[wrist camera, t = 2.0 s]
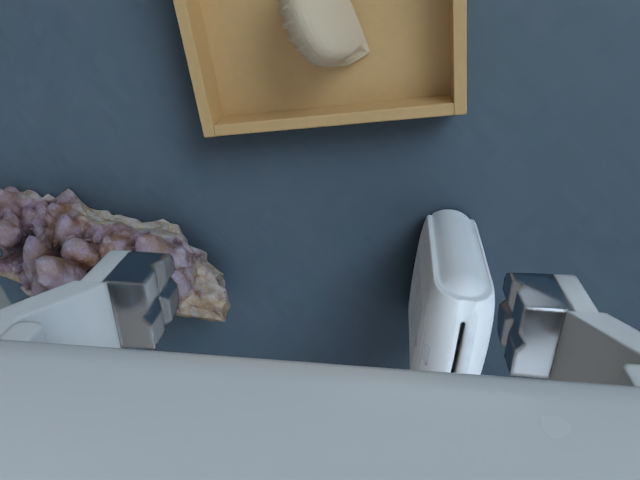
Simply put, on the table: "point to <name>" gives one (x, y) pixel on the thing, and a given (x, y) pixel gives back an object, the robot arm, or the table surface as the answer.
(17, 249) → the mineral specimen
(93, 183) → the table surface
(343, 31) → the decorative ornament
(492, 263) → the table surface
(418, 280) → the photo printer
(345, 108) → the tray
